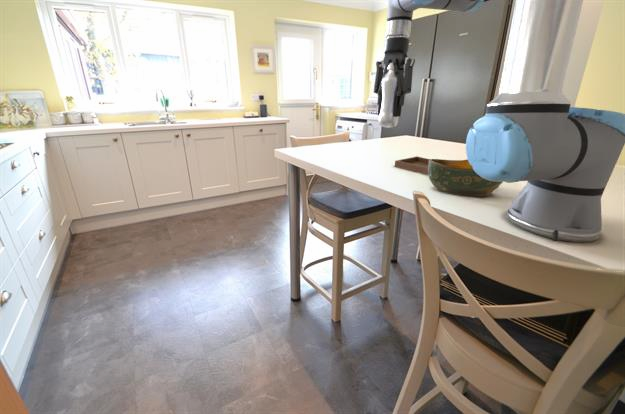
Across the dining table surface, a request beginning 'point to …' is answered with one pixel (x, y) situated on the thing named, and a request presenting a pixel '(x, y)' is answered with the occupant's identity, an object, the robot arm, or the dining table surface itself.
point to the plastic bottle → (388, 99)
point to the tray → (414, 164)
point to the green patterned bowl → (459, 178)
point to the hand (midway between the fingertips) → (388, 115)
